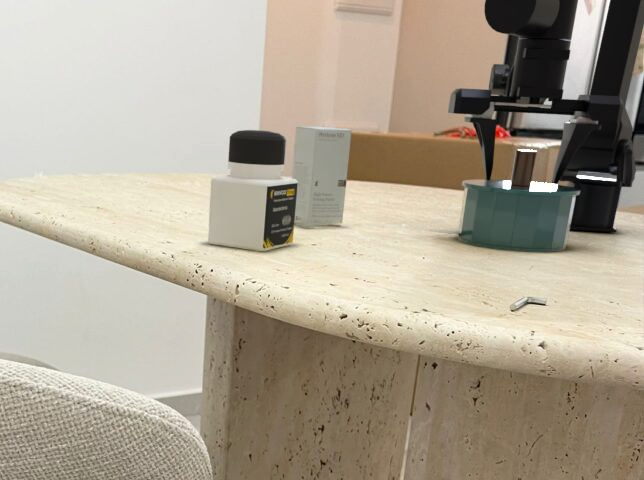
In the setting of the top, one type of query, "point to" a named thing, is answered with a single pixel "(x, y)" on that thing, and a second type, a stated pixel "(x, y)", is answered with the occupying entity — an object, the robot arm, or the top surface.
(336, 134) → the cosmetic box
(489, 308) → the top surface
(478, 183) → the lid
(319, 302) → the top surface
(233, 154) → the medicine bottle
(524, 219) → the tin
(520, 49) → the robot arm
